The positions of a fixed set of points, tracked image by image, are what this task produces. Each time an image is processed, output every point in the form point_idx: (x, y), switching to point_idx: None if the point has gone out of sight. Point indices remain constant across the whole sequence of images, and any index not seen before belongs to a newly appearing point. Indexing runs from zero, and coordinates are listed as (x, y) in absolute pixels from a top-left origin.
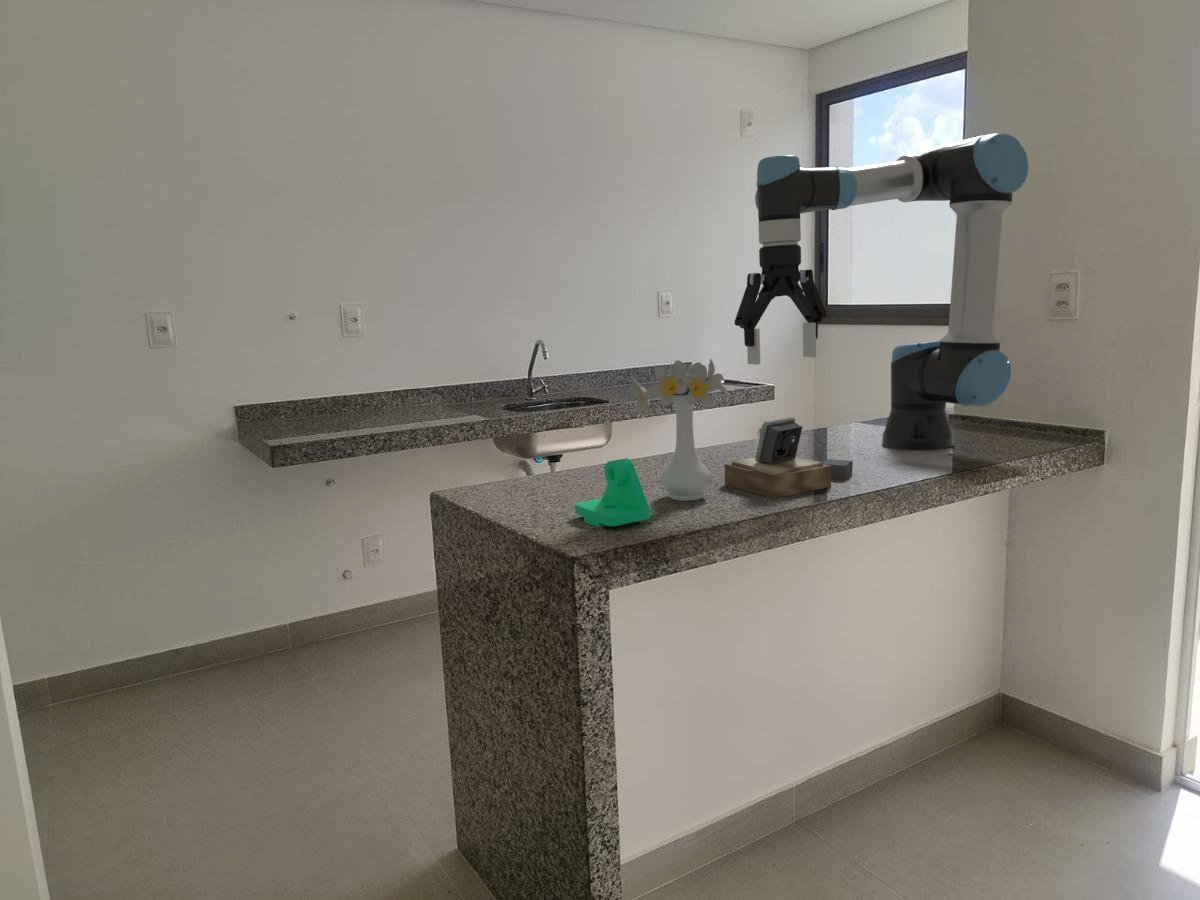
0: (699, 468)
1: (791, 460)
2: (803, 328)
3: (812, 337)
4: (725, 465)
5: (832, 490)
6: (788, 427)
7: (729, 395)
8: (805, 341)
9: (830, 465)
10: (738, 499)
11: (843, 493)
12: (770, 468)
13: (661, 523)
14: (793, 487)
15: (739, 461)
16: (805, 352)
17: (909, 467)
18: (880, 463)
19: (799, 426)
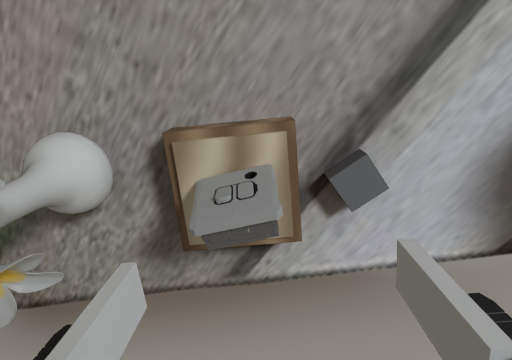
0: (71, 209)
1: None
2: (466, 326)
3: (434, 346)
4: (163, 135)
5: None
6: (243, 237)
7: (62, 277)
8: (427, 289)
9: (338, 192)
10: (148, 215)
11: (286, 261)
12: None
13: (13, 260)
14: None
15: (183, 151)
16: (404, 260)
17: (484, 191)
18: (479, 142)
19: (273, 234)
